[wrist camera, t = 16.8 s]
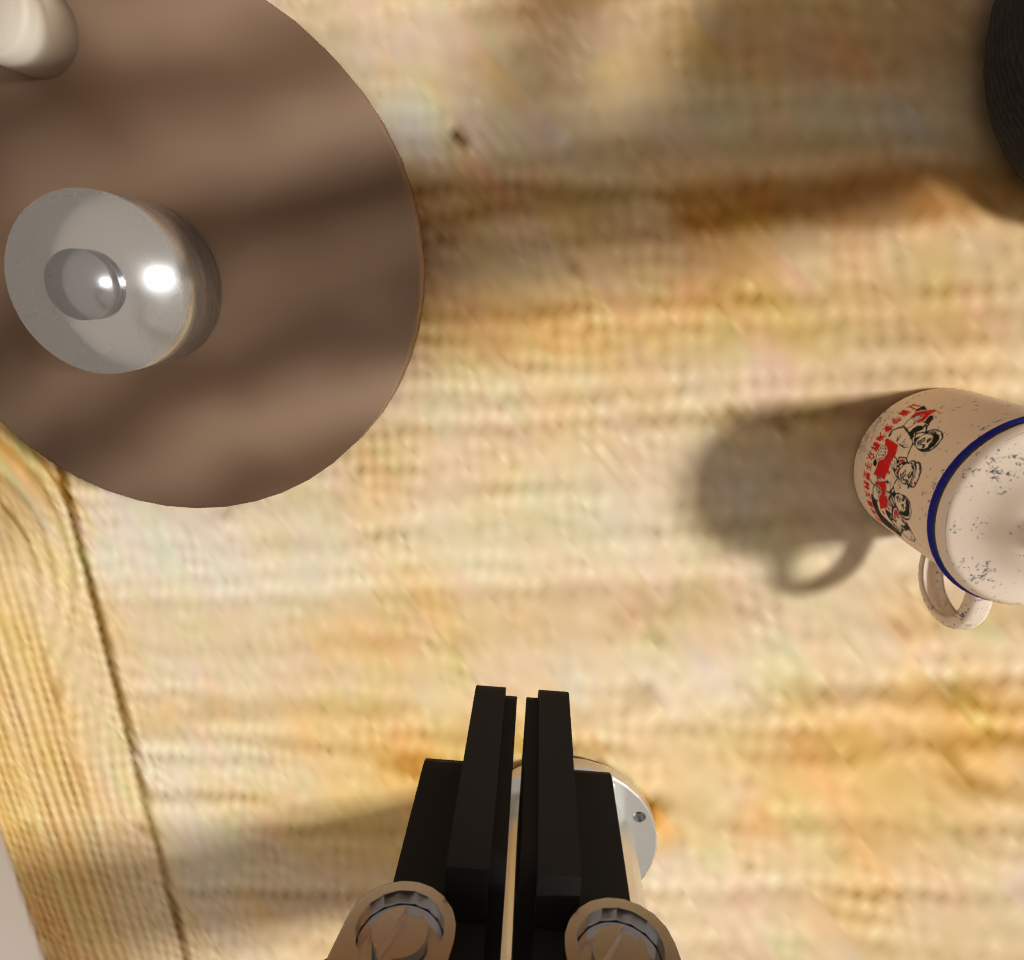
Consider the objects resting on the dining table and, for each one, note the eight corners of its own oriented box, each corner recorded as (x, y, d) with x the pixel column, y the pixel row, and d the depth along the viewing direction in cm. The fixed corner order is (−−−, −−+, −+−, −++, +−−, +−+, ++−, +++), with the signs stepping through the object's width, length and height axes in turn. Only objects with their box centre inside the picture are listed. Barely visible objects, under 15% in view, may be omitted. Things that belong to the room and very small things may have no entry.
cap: (254, 284, 33) (206, 286, 29) (160, 394, 35) (100, 413, 30) (125, 160, 32) (53, 140, 27) (34, 281, 34) (-49, 283, 29)
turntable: (501, 397, 37) (494, 420, 31) (108, 557, 40) (37, 603, 35) (278, -134, 30) (216, -231, 24) (-168, 118, 34) (-313, 86, 28)
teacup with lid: (867, 375, 37) (1009, 419, 26) (1033, 389, 36) (1249, 439, 25) (819, 573, 40) (927, 687, 29) (971, 586, 40) (1137, 706, 29)
